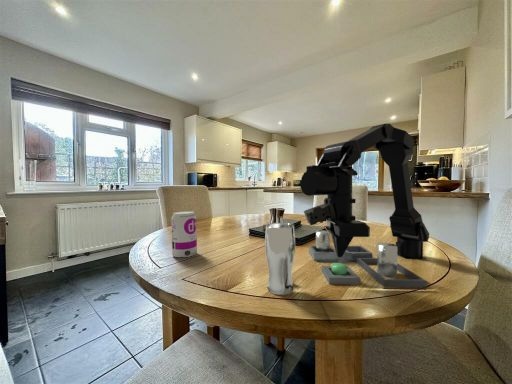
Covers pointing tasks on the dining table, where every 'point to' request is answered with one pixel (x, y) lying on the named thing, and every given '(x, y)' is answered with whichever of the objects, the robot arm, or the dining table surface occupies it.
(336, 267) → the button
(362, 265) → the grey rectangular frame
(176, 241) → the supplement can
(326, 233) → the seated billet
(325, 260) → the grey shallow tray
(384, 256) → the billet
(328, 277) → the button housing
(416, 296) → the dining table surface
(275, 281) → the silver vase
